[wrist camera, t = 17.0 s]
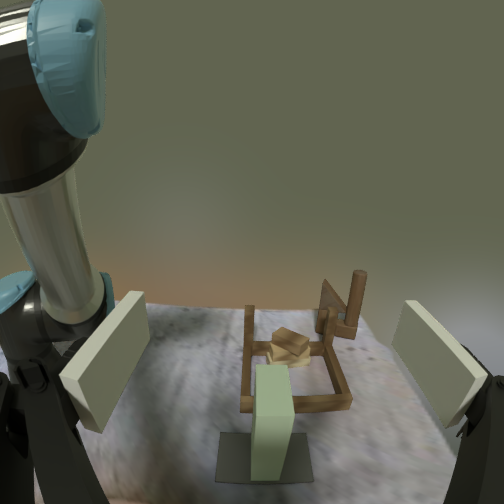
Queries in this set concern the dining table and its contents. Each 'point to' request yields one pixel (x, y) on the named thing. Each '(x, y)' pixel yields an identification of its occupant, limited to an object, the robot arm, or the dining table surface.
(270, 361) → the pine offcut
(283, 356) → the oak offcut
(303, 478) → the felt mat
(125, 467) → the dining table surface
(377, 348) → the dining table surface
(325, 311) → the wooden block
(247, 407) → the rack
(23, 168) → the robot arm
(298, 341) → the walnut offcut
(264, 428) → the sage block
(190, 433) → the dining table surface
